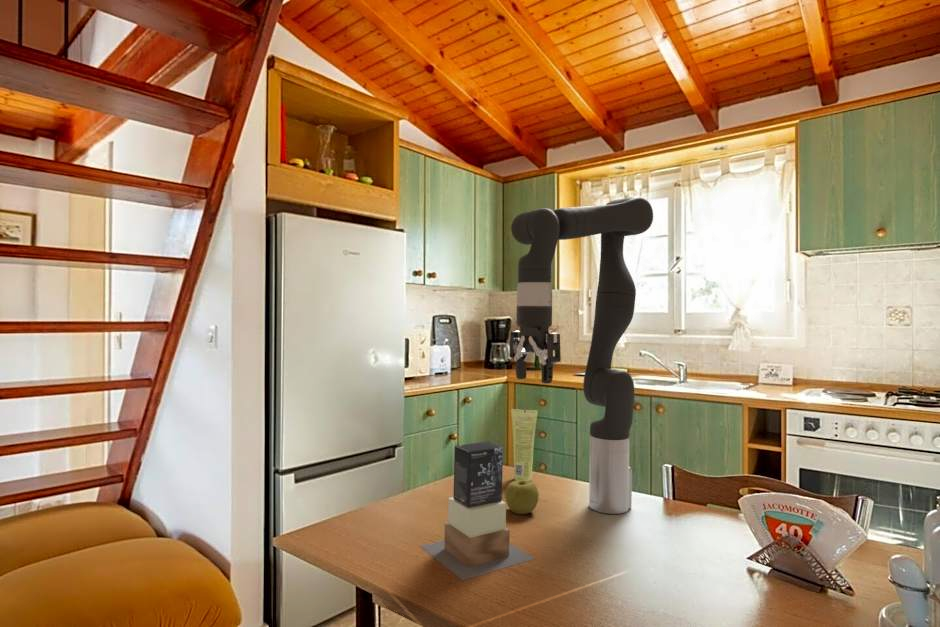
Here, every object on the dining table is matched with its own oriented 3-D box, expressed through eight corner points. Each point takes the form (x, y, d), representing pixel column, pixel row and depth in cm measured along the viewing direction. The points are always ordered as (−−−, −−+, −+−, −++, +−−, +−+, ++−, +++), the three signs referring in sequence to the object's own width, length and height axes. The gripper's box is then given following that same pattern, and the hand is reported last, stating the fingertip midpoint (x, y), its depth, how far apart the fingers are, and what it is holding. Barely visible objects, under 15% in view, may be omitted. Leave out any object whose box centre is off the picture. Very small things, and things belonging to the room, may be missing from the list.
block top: (482, 515, 111) (482, 491, 111) (505, 529, 104) (506, 502, 104) (448, 523, 107) (448, 497, 107) (470, 538, 100) (470, 510, 100)
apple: (498, 513, 127) (498, 482, 127) (518, 504, 133) (518, 475, 133) (525, 522, 122) (525, 490, 122) (545, 512, 128) (545, 481, 128)
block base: (482, 539, 112) (483, 514, 112) (509, 555, 104) (509, 529, 104) (444, 548, 107) (444, 523, 107) (469, 567, 99) (469, 539, 99)
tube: (525, 475, 157) (526, 407, 157) (537, 480, 153) (538, 409, 153) (509, 478, 154) (510, 409, 154) (521, 483, 150) (522, 411, 150)
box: (468, 509, 101) (468, 451, 101) (452, 499, 106) (453, 444, 106) (503, 501, 105) (503, 446, 105) (486, 493, 110) (487, 440, 110)
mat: (487, 531, 117) (487, 529, 117) (535, 560, 103) (535, 558, 103) (420, 548, 108) (420, 546, 108) (462, 582, 95) (462, 580, 95)
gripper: (570, 304, 112) (569, 383, 113) (527, 305, 125) (526, 376, 125) (542, 304, 108) (541, 386, 109) (500, 304, 121) (499, 378, 121)
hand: (533, 380), depth 117 cm, fingers open, 8 cm apart
